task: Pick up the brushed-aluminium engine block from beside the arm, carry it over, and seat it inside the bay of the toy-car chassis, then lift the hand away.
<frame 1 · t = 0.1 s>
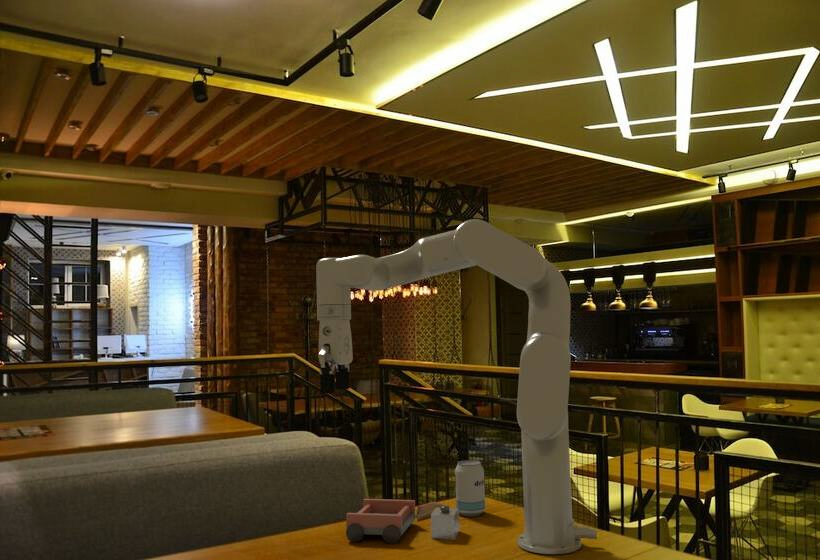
hand: (335, 391, 147), 31 cm above the table, tool pointing down, fingers open, 9 cm apart
beverage can: (470, 514, 159), on the table
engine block: (445, 535, 143), on the table
shard: (433, 516, 160), on the table
chassis: (382, 532, 146), on the table
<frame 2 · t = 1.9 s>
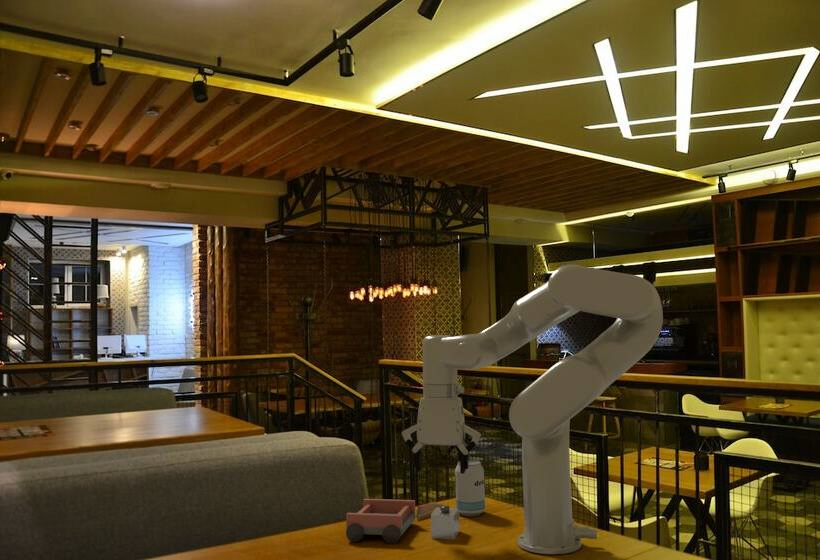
hand: (441, 471, 144), 13 cm above the table, tool pointing down, fingers open, 9 cm apart
nothing on the table moved.
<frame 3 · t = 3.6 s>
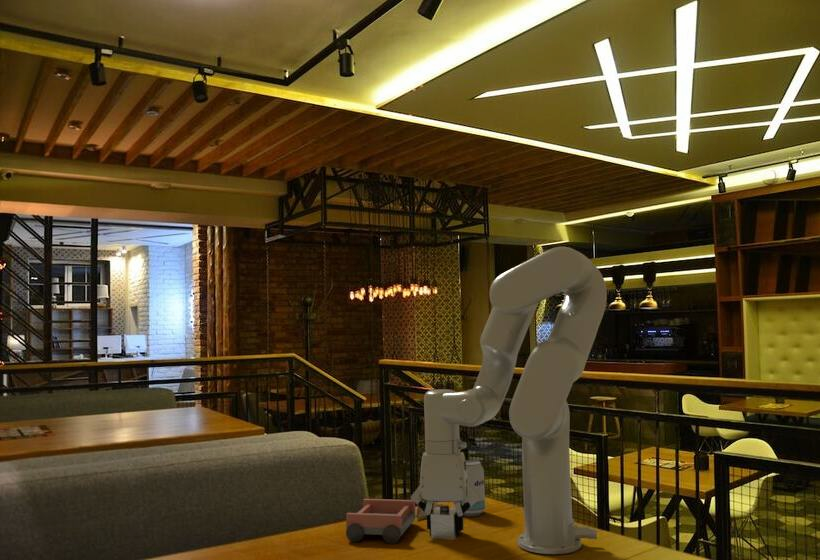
hand: (445, 532, 143), 0 cm above the table, tool pointing down, fingers closed on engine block, 5 cm apart
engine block: (445, 534, 143), on the table, touching gripper
everything else where it was.
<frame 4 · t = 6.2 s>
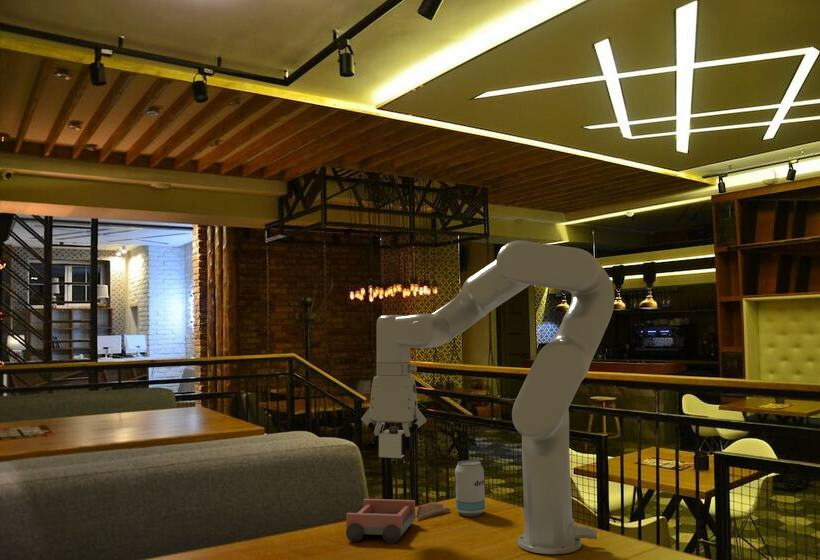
hand: (393, 452, 146), 17 cm above the table, tool pointing down, fingers closed on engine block, 5 cm apart
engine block: (393, 454, 146), point 17 cm above the table, touching gripper
everything else where it was.
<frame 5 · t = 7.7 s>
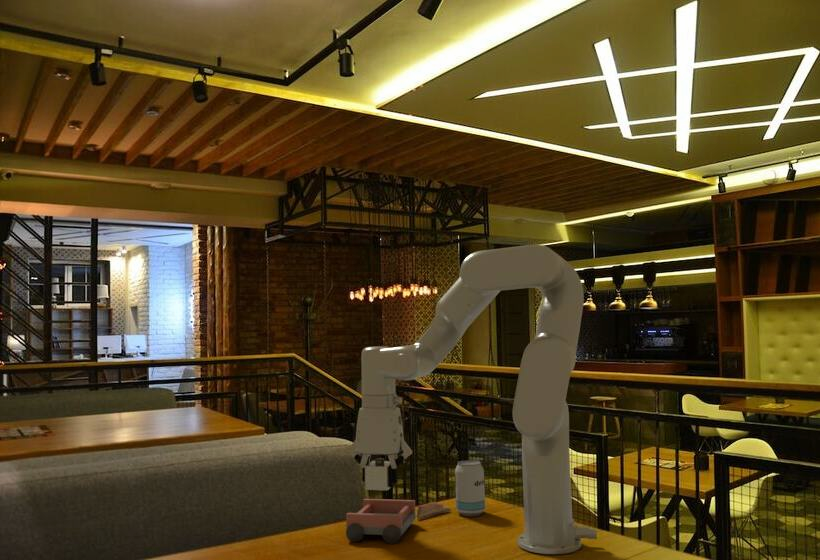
hand: (380, 484, 146), 10 cm above the table, tool pointing down, fingers closed on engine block, 5 cm apart
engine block: (380, 486, 146), point 10 cm above the table, touching gripper
everything else where it was.
when the fingers open (5 cm above the table, at t = 9.0 s): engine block drops 2 cm, resting on chassis.
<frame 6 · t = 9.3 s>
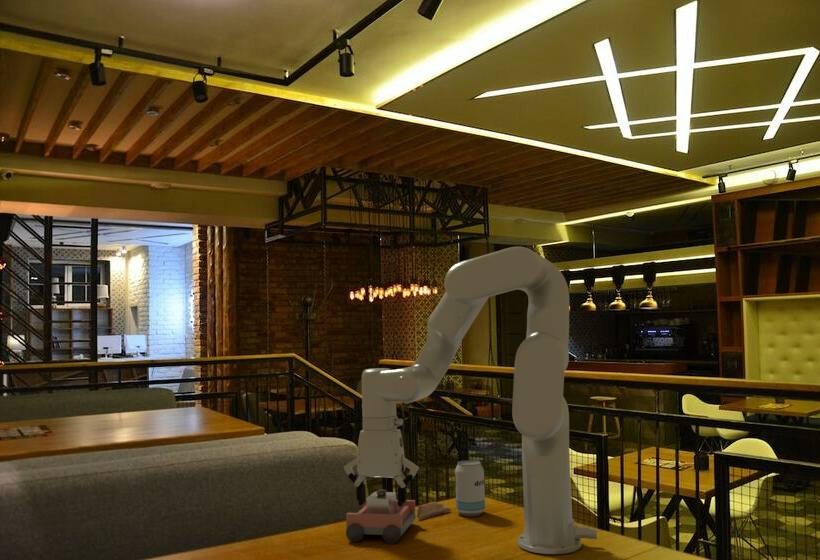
hand: (381, 504, 146), 6 cm above the table, tool pointing down, fingers open, 8 cm apart
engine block: (382, 518, 146), point 3 cm above the table, touching chassis
everything else where it was.
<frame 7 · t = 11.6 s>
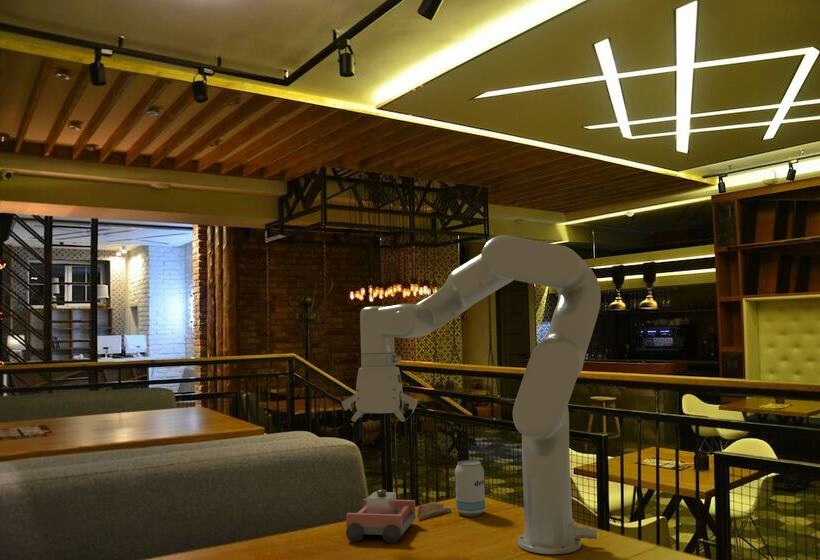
hand: (380, 439, 147), 20 cm above the table, tool pointing down, fingers open, 9 cm apart
nothing on the table moved.
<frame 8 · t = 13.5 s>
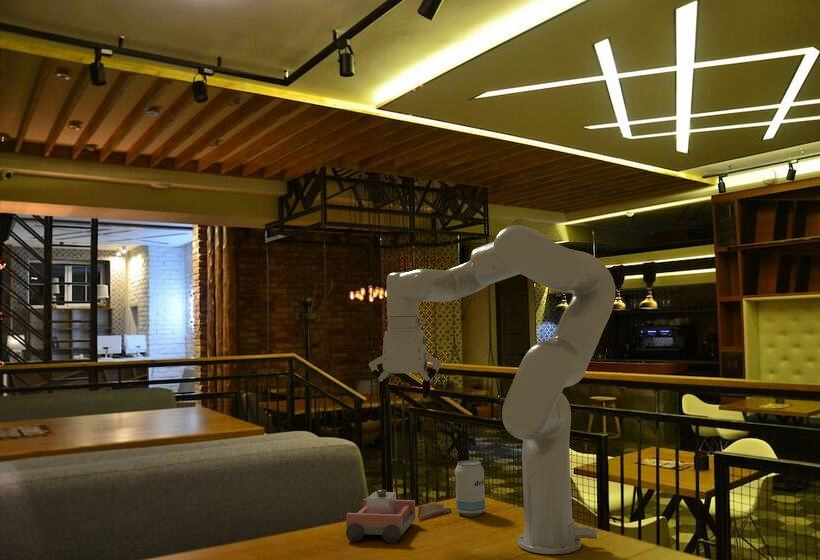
hand: (405, 398, 155), 28 cm above the table, tool pointing down, fingers open, 9 cm apart
nothing on the table moved.
at the end: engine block 0.0 cm off-centre on the chassis, point 3.0 cm above the chassis's base; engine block tilted 0°; the gripper is holding nothing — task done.
